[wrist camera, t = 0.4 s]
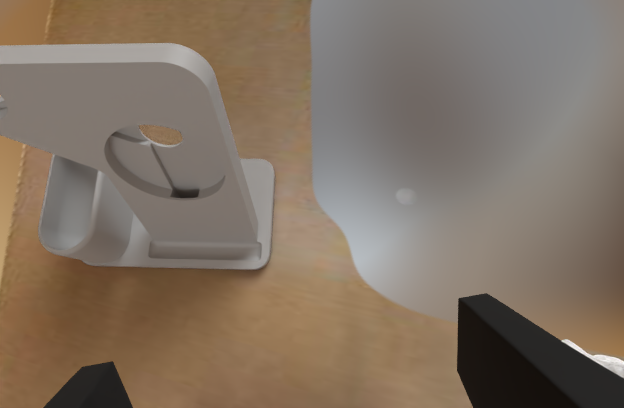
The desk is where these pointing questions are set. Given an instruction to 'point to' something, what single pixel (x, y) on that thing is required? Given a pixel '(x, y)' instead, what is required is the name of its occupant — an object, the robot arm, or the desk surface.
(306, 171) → the desk surface
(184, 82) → the phone holder
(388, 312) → the desk surface
